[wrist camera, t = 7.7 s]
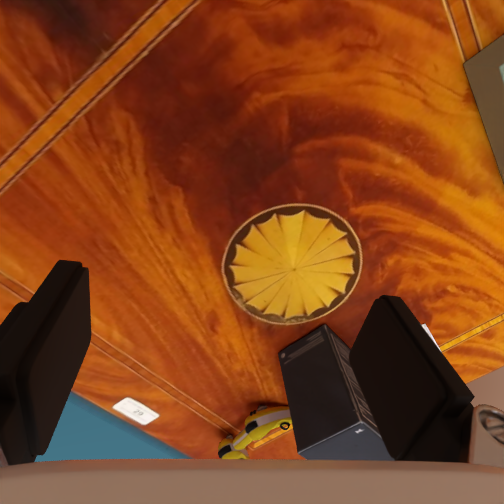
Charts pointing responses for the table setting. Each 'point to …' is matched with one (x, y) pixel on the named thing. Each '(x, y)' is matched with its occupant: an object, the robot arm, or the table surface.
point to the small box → (328, 401)
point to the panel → (490, 94)
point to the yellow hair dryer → (254, 431)
